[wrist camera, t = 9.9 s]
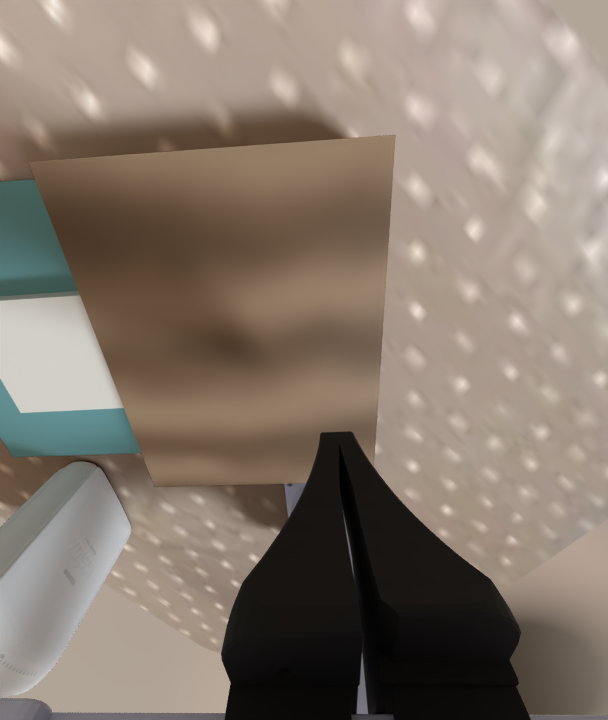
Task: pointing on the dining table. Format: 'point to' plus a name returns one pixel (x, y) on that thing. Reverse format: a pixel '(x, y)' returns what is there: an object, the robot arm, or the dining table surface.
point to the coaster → (52, 355)
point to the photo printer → (54, 569)
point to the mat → (34, 276)
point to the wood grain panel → (233, 297)
